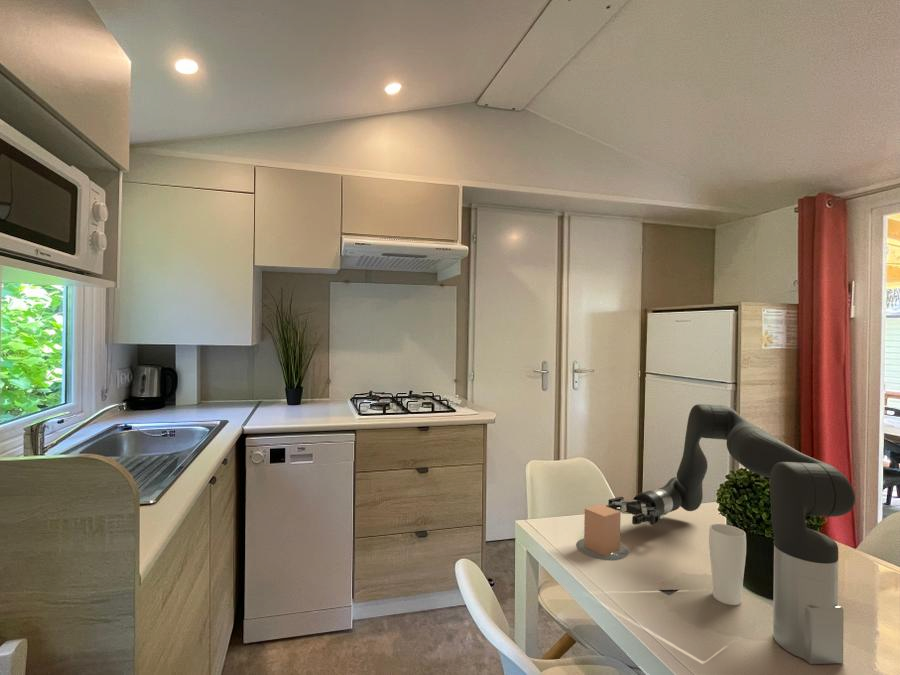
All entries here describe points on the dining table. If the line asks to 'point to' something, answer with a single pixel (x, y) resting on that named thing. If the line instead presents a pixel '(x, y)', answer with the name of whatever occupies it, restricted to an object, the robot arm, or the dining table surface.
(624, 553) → the plate
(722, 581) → the drinking glass
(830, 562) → the robot arm
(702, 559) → the dining table surface
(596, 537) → the orange brown block
